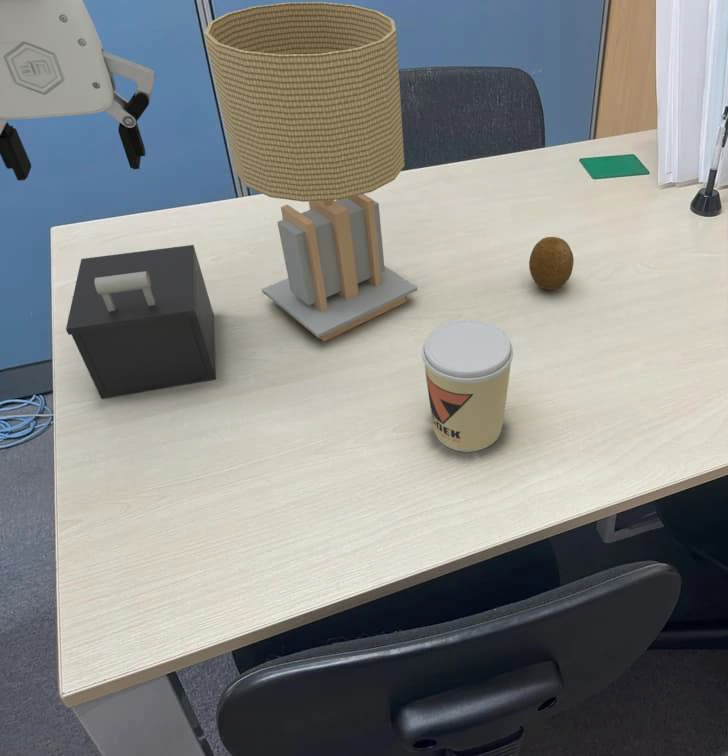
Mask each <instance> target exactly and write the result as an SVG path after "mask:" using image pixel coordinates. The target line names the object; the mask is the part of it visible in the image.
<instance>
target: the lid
mask: <svg viewBox="0 0 728 756" xmlns="http://www.w3.org/2000/svg"><path fill="white" fill-rule="evenodd" d="M195 252H196V248H195V245H194V244H189V245H181V246H174V247H165V248H157V249H149V250H140V251H133V252H127V253H126V252H125V253H116V254H108V255H101V256H94V257H93V256H91V257H84V258H81V259H80V263H79V268H78V272H77V277H76V282H75V286H74V290H73V295H72V298H71V304H70V309H69V312H68V313H69V314H68V318H67V321H66V327H65V331H66V333H67V335H68V336H72V334H78V333H85V332H92V331H98V330H105V329H112V328H118V327H125V326H132V325H138V324H145V323H152V322H158V321H165V320H172V319H179V318H185V317H192V316H195Z"/></svg>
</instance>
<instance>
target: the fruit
mask: <svg viewBox="0 0 728 756" xmlns="http://www.w3.org/2000/svg"><path fill="white" fill-rule="evenodd" d="M573 254H574V253H573V251H572V249H571V247H570V244H568V243H567V241H565V240H564V239H563V238H560V237H557V236H546V237H544V238H543V237H542V239H540V240H539V241H538V242H537V243H536V244H534V247H533V248H532V250H531V254H530V256H529V262H528V268H529V272H530V276H531V278H532V280H533V282H534V283H535V284H536V285H537V286H538V287H539V288H541V289H545V290H557V289H560V288H561V287H563V286H564V285H565V284H566V283H567V282H568V281H569V279H570V278H571V275H572V273H573V268H574V263H575V261H574V259H575V257H574V255H573Z"/></svg>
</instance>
